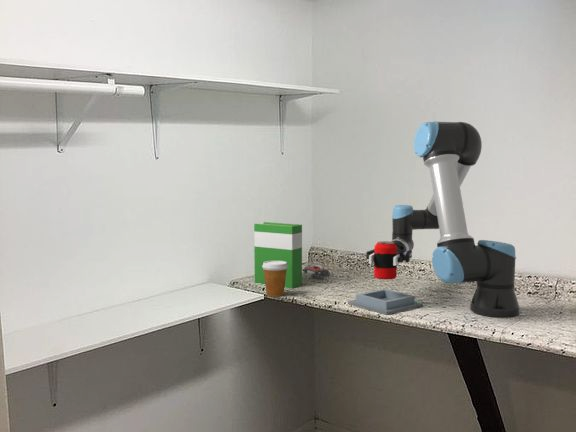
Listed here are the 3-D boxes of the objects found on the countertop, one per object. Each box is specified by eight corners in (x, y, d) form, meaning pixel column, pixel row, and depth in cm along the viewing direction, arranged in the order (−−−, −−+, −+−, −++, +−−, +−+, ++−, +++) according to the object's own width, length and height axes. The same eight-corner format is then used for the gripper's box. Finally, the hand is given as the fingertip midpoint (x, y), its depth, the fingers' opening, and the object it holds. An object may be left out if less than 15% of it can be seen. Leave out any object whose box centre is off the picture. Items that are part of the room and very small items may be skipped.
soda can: (370, 278, 206) (371, 243, 205) (378, 274, 213) (378, 240, 211) (392, 280, 203) (393, 244, 201) (399, 276, 209) (400, 241, 208)
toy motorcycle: (298, 273, 266) (319, 282, 248) (298, 263, 266) (320, 271, 248) (315, 271, 270) (338, 280, 252) (315, 261, 270) (338, 269, 252)
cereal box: (254, 283, 244) (254, 223, 242) (265, 280, 250) (264, 222, 248) (292, 288, 235) (292, 226, 232) (301, 284, 241) (302, 224, 239)
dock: (422, 306, 207) (423, 296, 206) (386, 315, 196) (386, 304, 195) (383, 296, 221) (383, 287, 221) (347, 304, 210) (347, 294, 210)
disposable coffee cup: (277, 290, 231) (277, 259, 230) (293, 295, 223) (293, 263, 222) (257, 294, 225) (256, 262, 224) (272, 299, 218) (272, 265, 216)
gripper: (424, 262, 220) (412, 274, 199) (369, 258, 228) (352, 269, 207) (424, 241, 219) (413, 251, 198) (369, 238, 227) (352, 247, 206)
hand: (382, 260), depth 202 cm, fingers closed on soda can, 7 cm apart
